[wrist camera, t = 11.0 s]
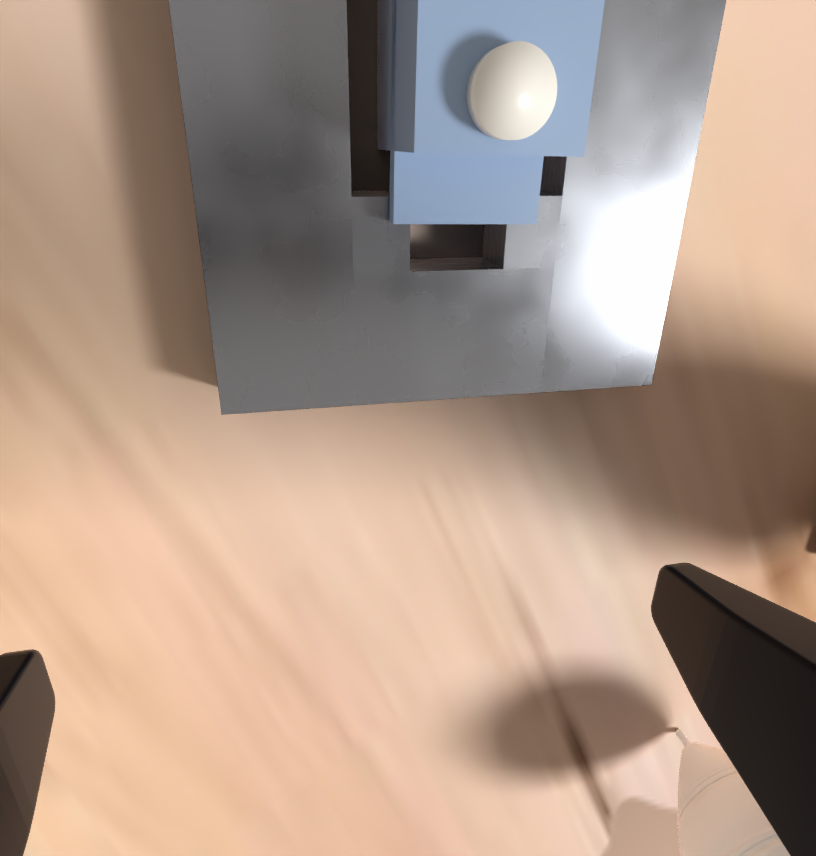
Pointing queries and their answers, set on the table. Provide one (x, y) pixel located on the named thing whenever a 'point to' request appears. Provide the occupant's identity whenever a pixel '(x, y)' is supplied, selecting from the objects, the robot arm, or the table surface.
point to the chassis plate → (390, 243)
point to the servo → (481, 102)
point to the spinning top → (719, 808)
